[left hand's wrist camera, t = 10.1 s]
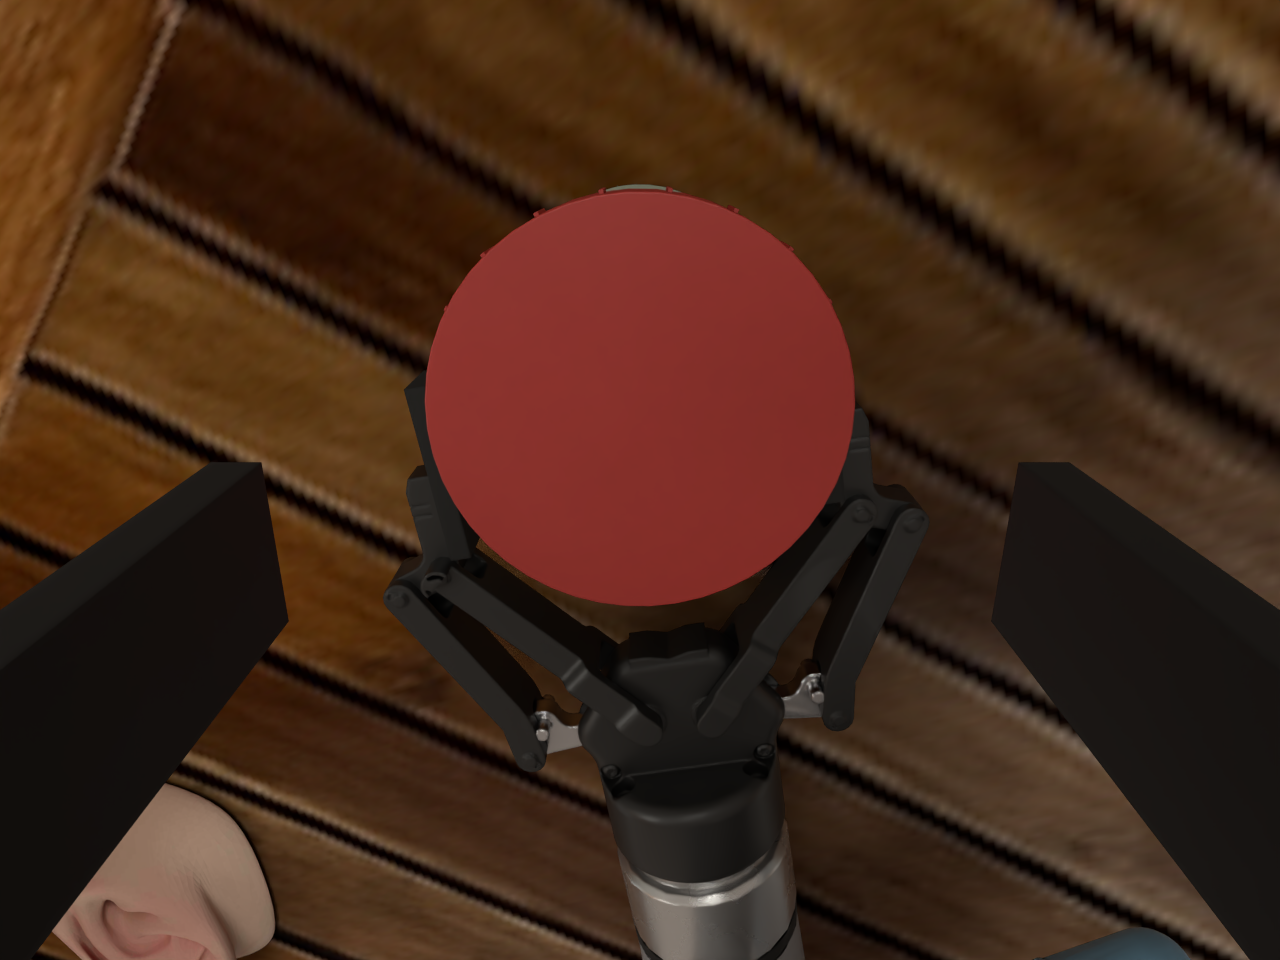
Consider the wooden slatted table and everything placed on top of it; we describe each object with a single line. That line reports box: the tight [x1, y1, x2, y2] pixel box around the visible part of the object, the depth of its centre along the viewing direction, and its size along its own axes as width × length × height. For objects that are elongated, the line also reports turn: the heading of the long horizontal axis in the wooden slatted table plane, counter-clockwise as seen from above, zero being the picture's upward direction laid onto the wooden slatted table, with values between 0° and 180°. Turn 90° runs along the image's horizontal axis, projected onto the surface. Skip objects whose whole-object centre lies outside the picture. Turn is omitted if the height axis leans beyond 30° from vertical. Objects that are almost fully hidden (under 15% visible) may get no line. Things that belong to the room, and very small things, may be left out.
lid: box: [425, 186, 855, 606], centre depth 20 cm, size 10×10×2 cm
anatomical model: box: [52, 783, 275, 960], centre depth 43 cm, size 13×4×12 cm
